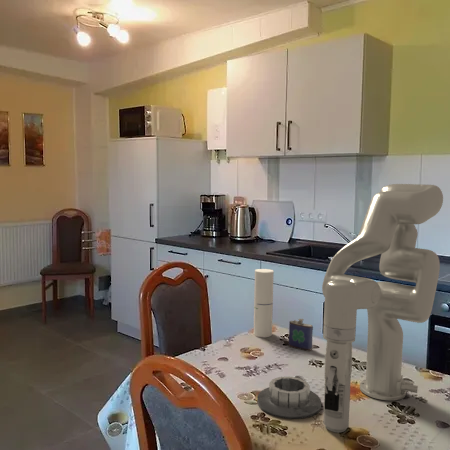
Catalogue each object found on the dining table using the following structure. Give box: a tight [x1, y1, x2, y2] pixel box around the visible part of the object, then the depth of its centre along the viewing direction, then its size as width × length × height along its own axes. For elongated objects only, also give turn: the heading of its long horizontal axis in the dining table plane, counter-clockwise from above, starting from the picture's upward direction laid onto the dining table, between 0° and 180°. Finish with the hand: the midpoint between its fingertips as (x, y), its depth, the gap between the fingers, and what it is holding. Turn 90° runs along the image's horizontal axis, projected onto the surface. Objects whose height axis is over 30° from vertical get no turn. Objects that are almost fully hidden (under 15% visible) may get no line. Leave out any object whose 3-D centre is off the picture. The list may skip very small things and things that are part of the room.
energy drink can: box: [323, 371, 352, 433], centre depth 117 cm, size 6×6×15 cm
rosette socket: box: [256, 376, 322, 420], centre depth 129 cm, size 17×17×5 cm
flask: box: [288, 318, 314, 352], centre depth 172 cm, size 9×3×11 cm, turn 52°
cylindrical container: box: [253, 268, 275, 338], centre depth 185 cm, size 7×7×25 cm
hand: (335, 401), depth 116 cm, fingers open, 9 cm apart
